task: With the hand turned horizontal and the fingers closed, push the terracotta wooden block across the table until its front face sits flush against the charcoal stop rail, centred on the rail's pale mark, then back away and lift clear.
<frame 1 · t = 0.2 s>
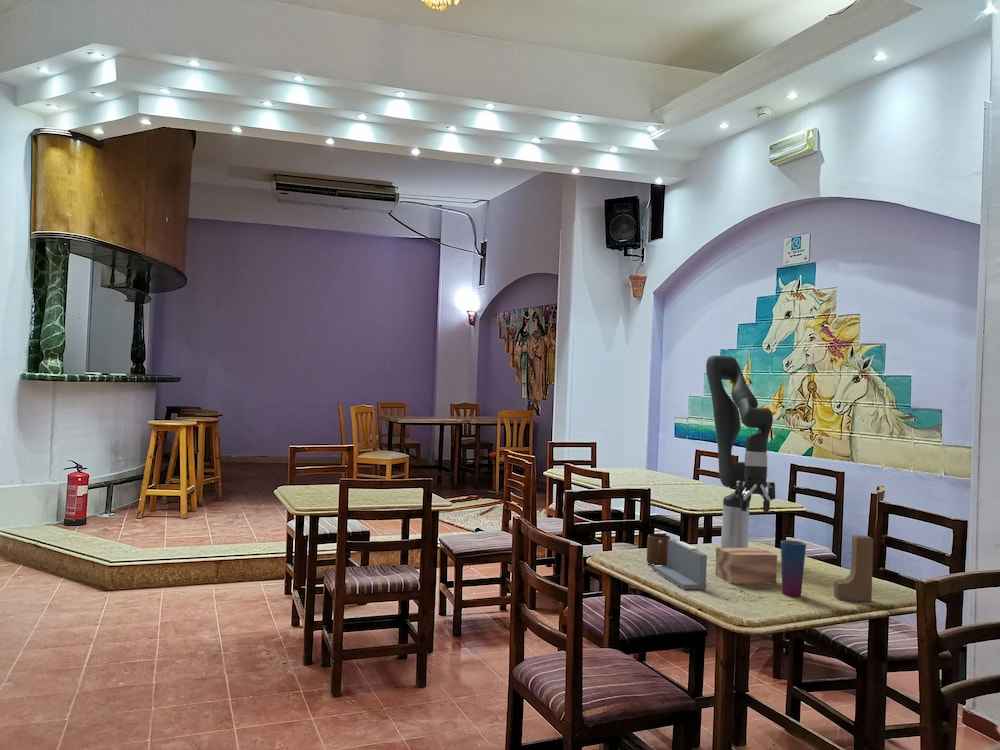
hand: (754, 511, 253), 17 cm above the table, tool pointing down, fingers open, 8 cm apart
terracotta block: (745, 580, 225), on the table
stop rail: (685, 579, 222), on the table
cup: (791, 595, 209), on the table
wooden block: (852, 599, 207), on the table
mug: (658, 566, 239), on the table
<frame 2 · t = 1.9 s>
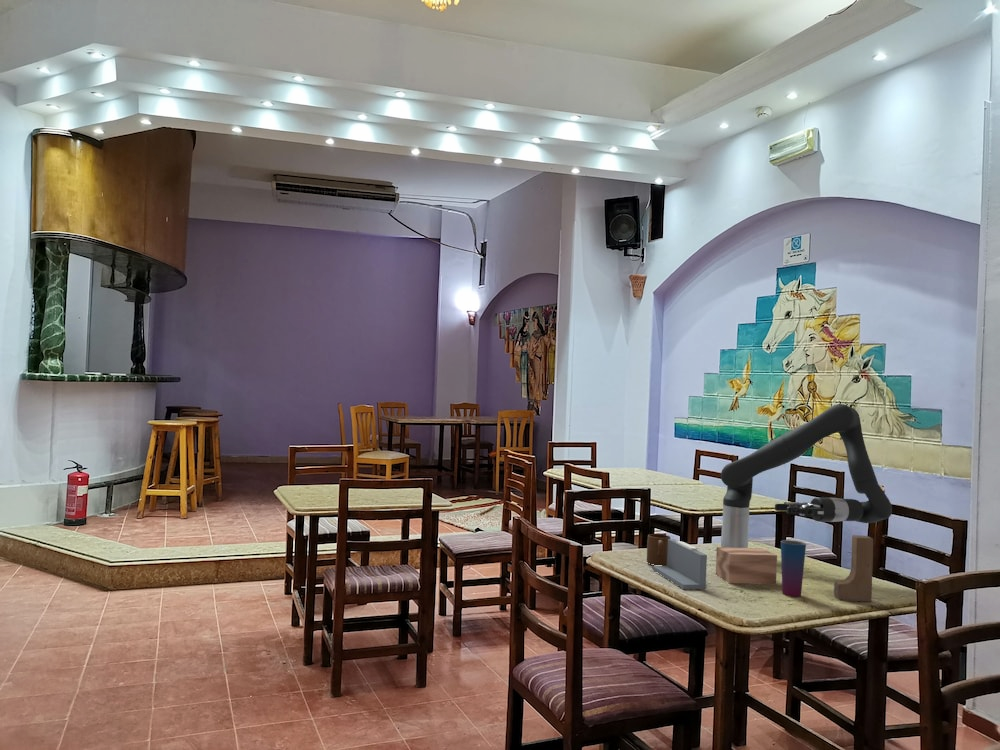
hand: (781, 508, 228), 22 cm above the table, tool horizontal, fingers open, 6 cm apart
nothing on the table moved.
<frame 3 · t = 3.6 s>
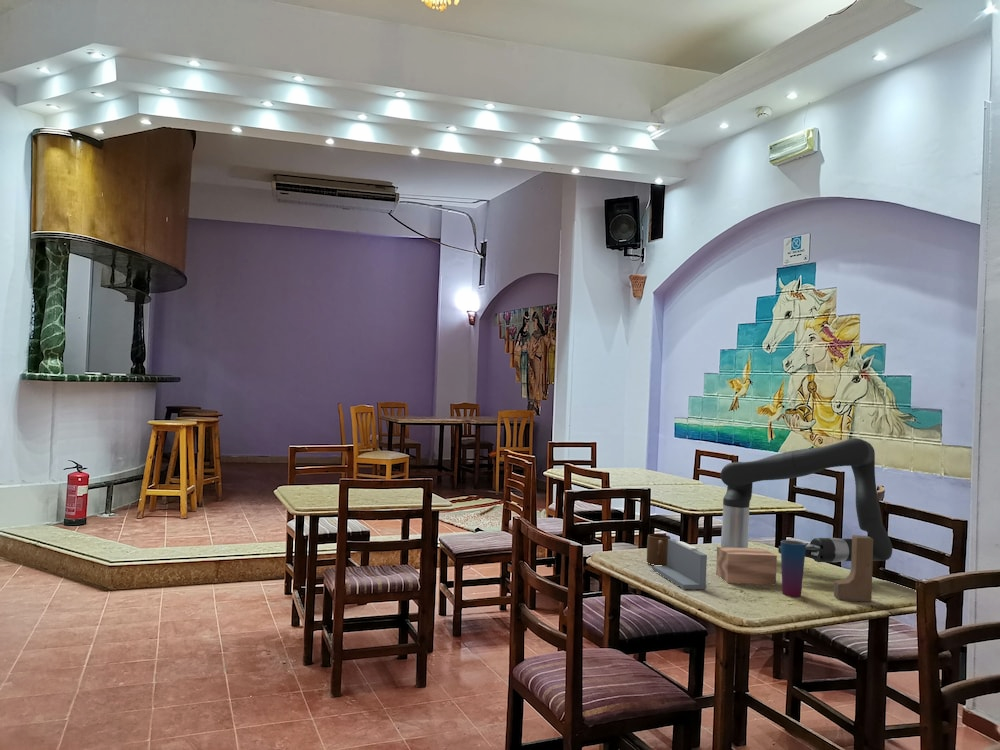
hand: (779, 550, 227), 9 cm above the table, tool horizontal, fingers closed
nothing on the table moved.
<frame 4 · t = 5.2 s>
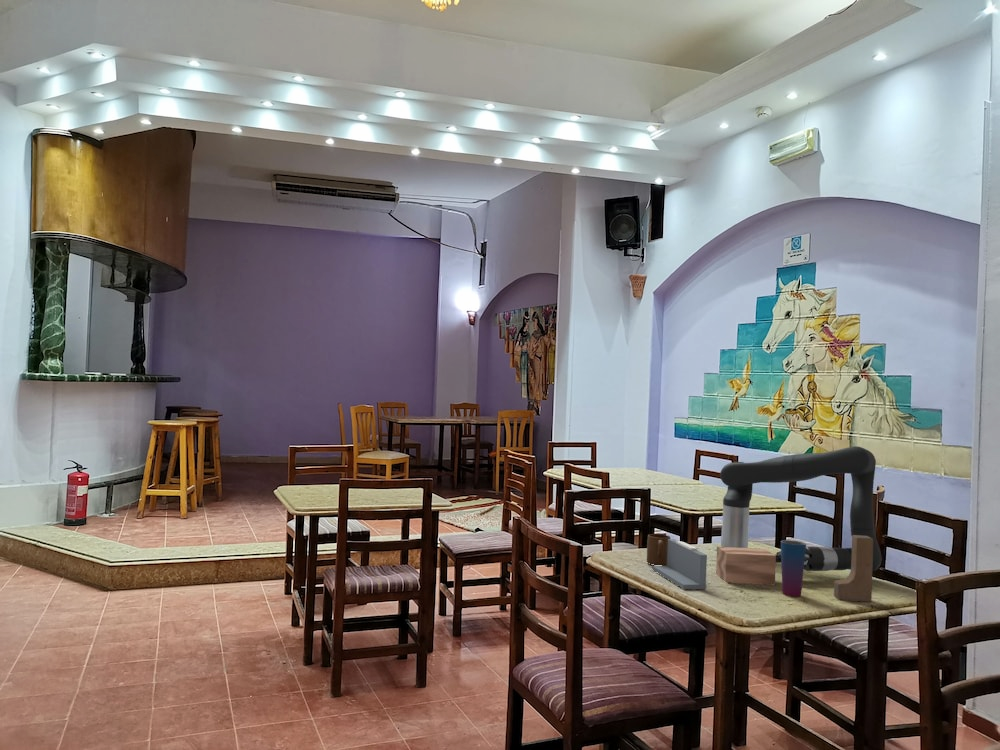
hand: (768, 558, 227), 7 cm above the table, tool horizontal, fingers closed
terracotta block: (744, 580, 225), on the table, touching gripper
everything else where it was.
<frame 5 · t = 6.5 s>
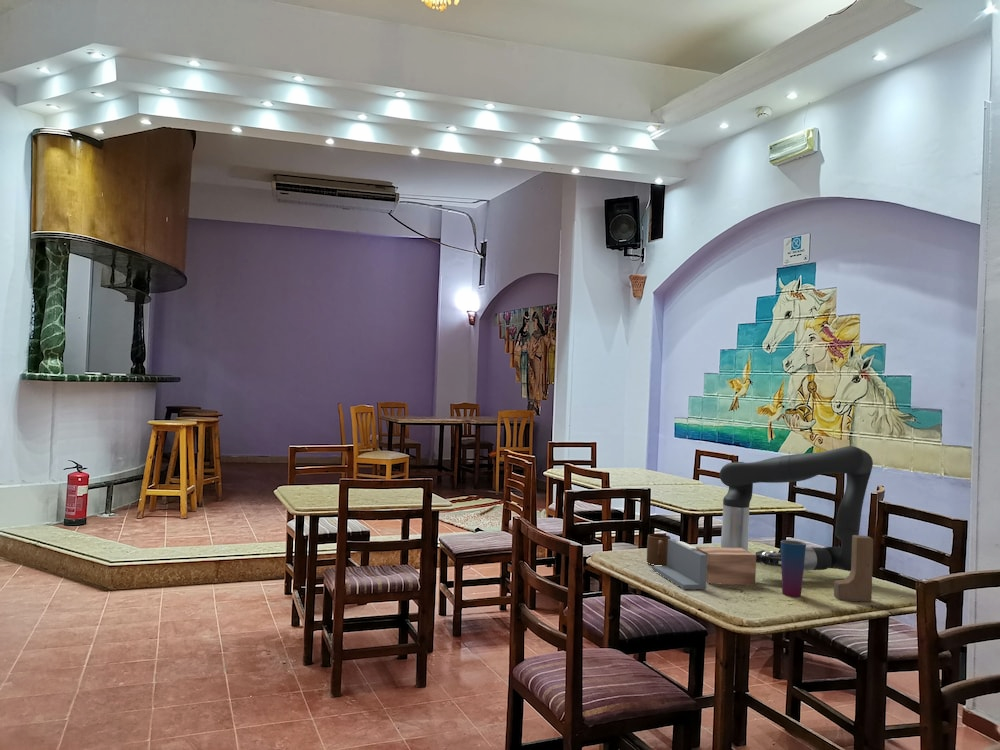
hand: (747, 558, 225), 7 cm above the table, tool horizontal, fingers closed
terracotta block: (724, 580, 224), on the table, touching gripper
everything else where it was.
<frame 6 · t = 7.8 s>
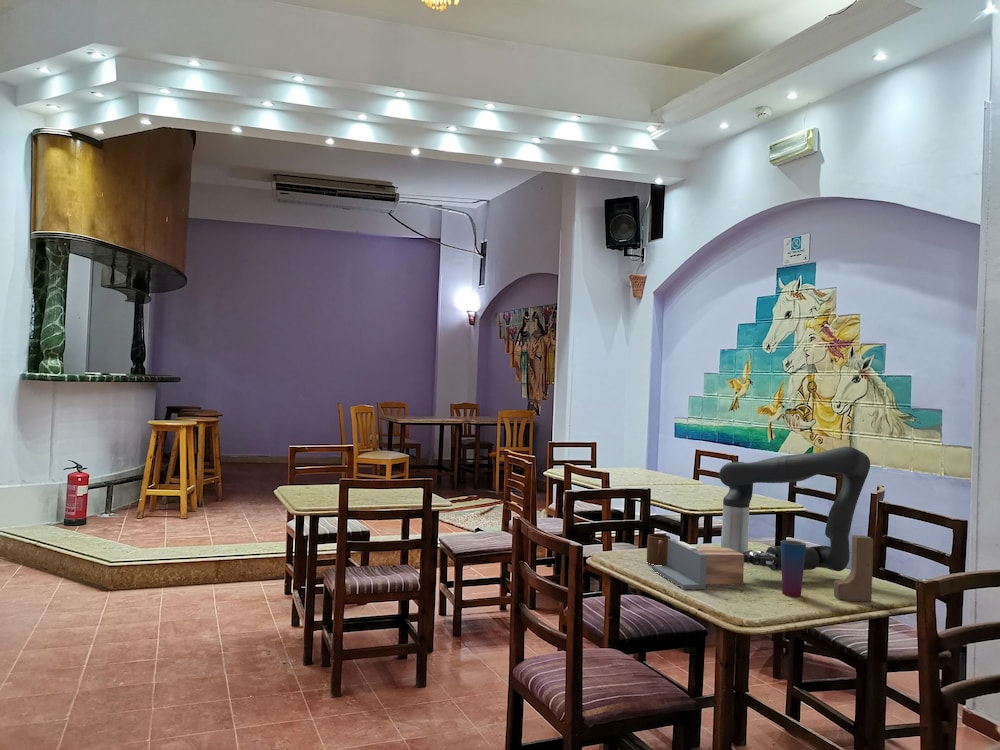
hand: (734, 558, 224), 7 cm above the table, tool horizontal, fingers closed
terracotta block: (712, 580, 222), on the table, touching gripper, stop rail
everything else where it was.
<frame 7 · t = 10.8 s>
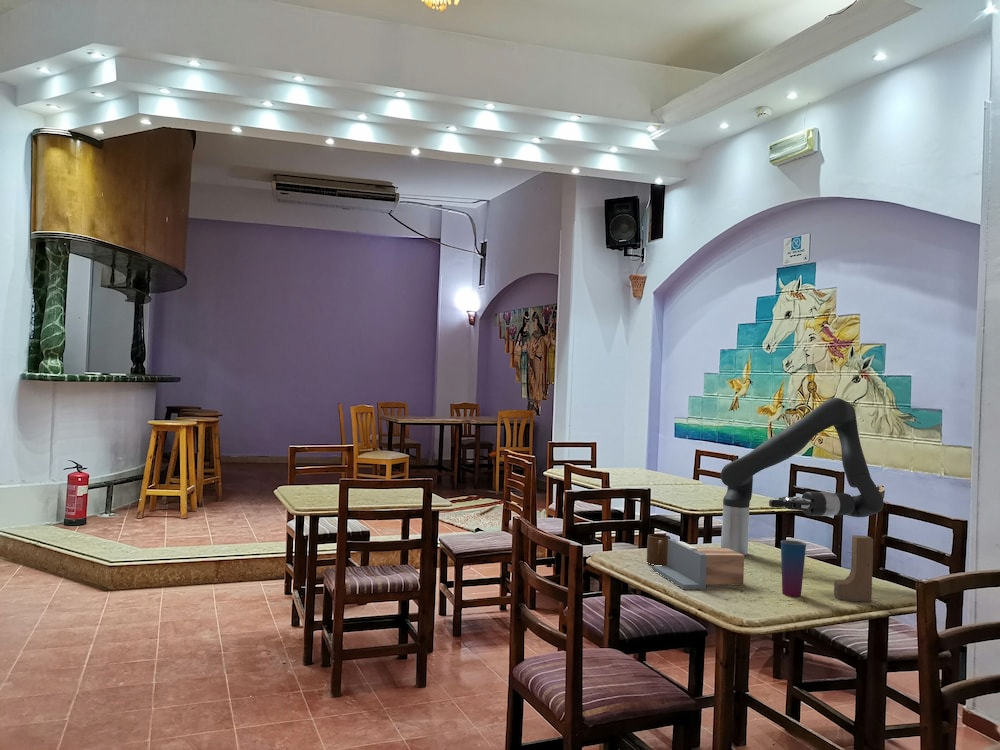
hand: (770, 503, 228), 24 cm above the table, tool horizontal, fingers closed
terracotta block: (712, 580, 222), on the table
everything else where it was.
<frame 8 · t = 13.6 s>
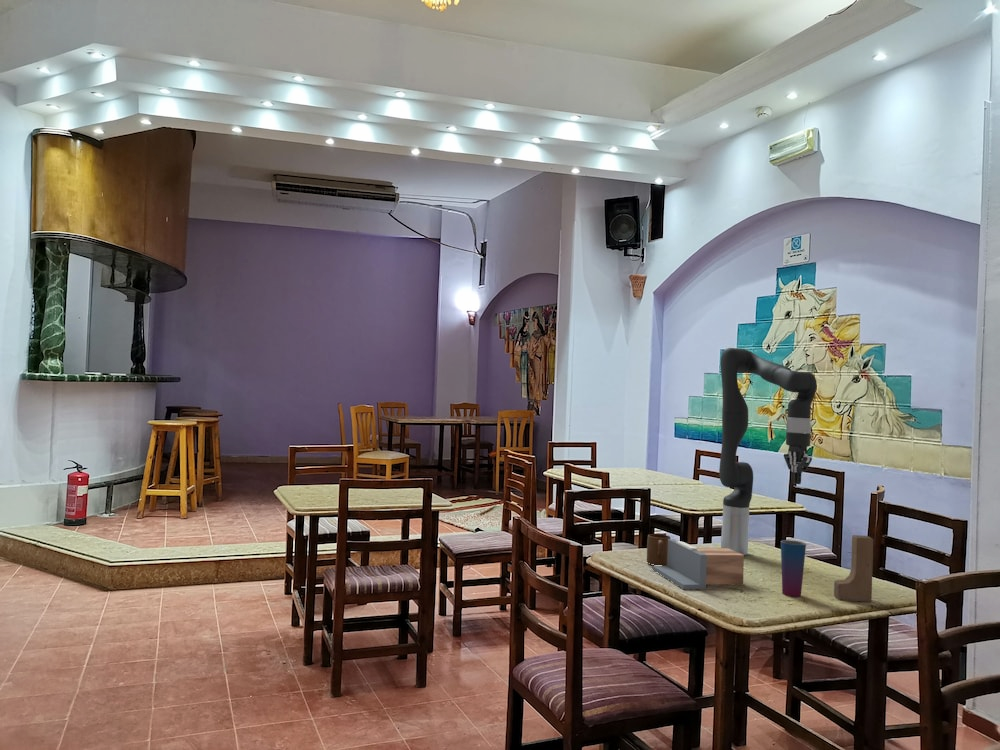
hand: (796, 483, 240), 29 cm above the table, tool pointing down, fingers closed
nothing on the table moved.
at the end: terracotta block 0.7 cm from the target spot on the table beside the stop rail, on the table; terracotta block tilted 0° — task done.
